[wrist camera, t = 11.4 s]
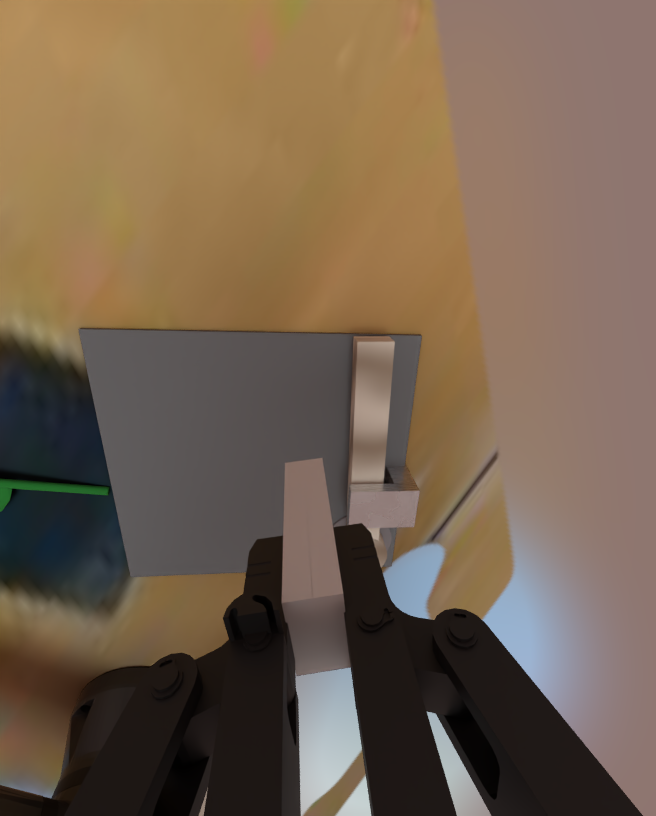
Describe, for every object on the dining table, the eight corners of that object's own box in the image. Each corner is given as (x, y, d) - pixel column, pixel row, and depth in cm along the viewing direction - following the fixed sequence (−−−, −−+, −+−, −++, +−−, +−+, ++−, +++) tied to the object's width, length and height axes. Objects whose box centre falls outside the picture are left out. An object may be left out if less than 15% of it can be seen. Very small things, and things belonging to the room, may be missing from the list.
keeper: (401, 497, 40) (414, 526, 36) (342, 498, 39) (348, 528, 35) (405, 464, 38) (419, 490, 34) (344, 464, 38) (350, 492, 33)
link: (381, 560, 42) (389, 590, 38) (335, 562, 41) (340, 593, 37) (400, 336, 32) (414, 347, 28) (341, 336, 32) (348, 347, 28)
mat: (390, 563, 43) (392, 568, 43) (132, 574, 40) (129, 579, 40) (420, 334, 33) (422, 336, 33) (81, 328, 31) (76, 329, 30)
